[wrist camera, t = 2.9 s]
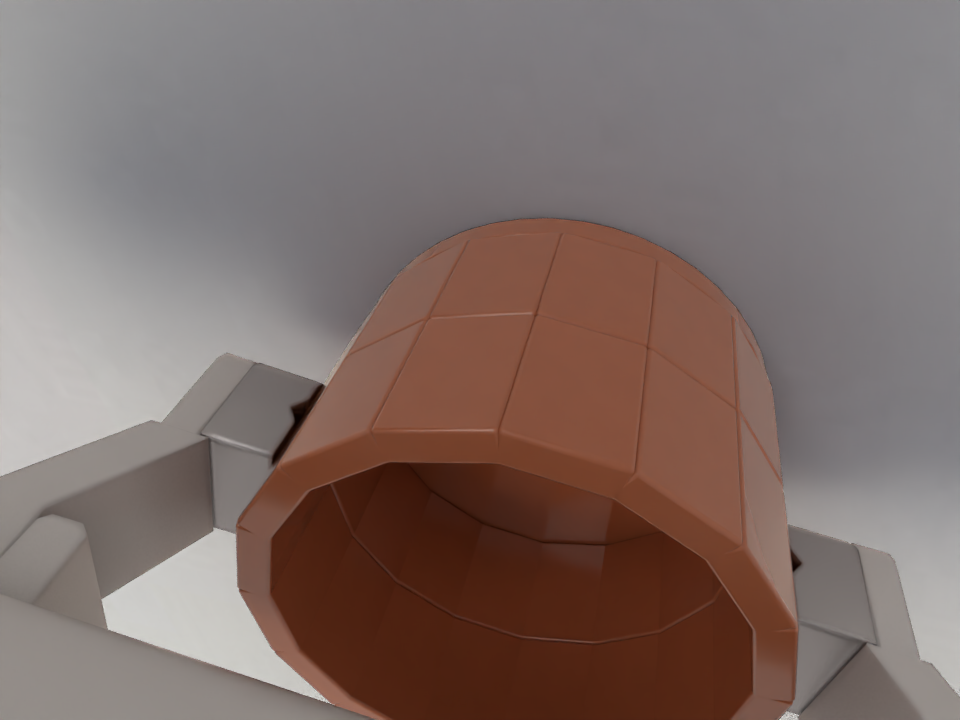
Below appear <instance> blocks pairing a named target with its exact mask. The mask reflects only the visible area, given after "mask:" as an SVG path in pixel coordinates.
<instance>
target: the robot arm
mask: <svg viewBox="0 0 960 720" xmlns="http://www.w3.org/2000/svg"><path fill="white" fill-rule="evenodd" d="M322 386H323V384H322V383H319V382H316V381H313V380H310V379H307V378H304V377H301V376H298V375H295V374H292V373H289V372H286V371H283V370H280V369H277V368H274V367H271V366H268V365H265V364H262V363H256V362H253V361H250V360H247V359H244V358H241V357H238V356H235V355H232V354H230V353H225V354H223V355H221V356H219V357H218V358H216V360H215V361H214V362H213V363H212V364H211V365H210V367H209V368H208V369H207V370H206V371H205V372H204V374H203V375H202V376H201V377H200V378H199V379H198V381H197V382H196V383H195V384H194V385H193V386H192V388H191V389H190V390H189V391H188V392H187V393H186V395H185V396H184V397H183V398H182V399H181V400H180V402H179V403H178V404H177V405H176V406H175V407H174V408H173V410H172V411H171V412H170V413H169V414H168V415H167V417H166V418H165V419H164V420H163V421H162V422H161V423H160V422H156V421H153V420H150V421H148V422H145V423H142V424H139V425H137V426H134V427H131V428H129V429H126V430H123V431H121V432H118V433H115V434H113V435H110V436H107V437H105V438H102V439H99V440H97V441H94V442H91V443H89V444H86V445H83V446H81V447H78V448H75V449H73V450H70V451H67V452H65V453H62V454H59V455H57V456H54V457H51V458H49V459H46V460H43V461H41V462H38V463H35V464H33V465H30V466H27V467H25V468H22V469H19V470H17V471H14V472H11V473H9V474H6V475H3V476H0V720H377V719H374V718H371V717H368V716H365V715H362V714H359V713H356V712H353V711H350V710H347V709H344V708H341V707H338V706H335V705H332V704H329V703H326V702H323V701H320V700H317V699H314V698H311V697H308V696H305V695H302V694H299V693H296V692H293V691H290V690H287V689H284V688H281V687H278V686H275V685H272V684H269V683H266V682H263V681H260V680H257V679H254V678H251V677H248V676H245V675H242V674H239V673H236V672H233V671H230V670H227V669H224V668H221V667H218V666H215V665H212V664H209V663H206V662H203V661H200V660H197V659H194V658H191V657H188V656H185V655H182V654H179V653H176V652H173V651H170V650H167V649H164V648H161V647H158V646H155V645H152V644H149V643H146V642H143V641H140V640H137V639H134V638H131V637H128V636H125V635H122V634H119V633H116V632H113V631H110V630H108V628H107V623H106V619H105V614H104V610H103V605H102V600H101V599H103V598H104V597H106V596H108V595H109V594H111V593H112V592H114V591H116V590H117V589H119V588H121V587H122V586H124V585H126V584H127V583H129V582H130V581H132V580H134V579H135V578H137V577H139V576H140V575H142V574H144V573H145V572H147V571H148V570H150V569H152V568H153V567H155V566H157V565H158V564H160V563H161V562H163V561H165V560H166V559H168V558H170V557H171V556H173V555H175V554H176V553H178V552H179V551H181V550H183V549H184V548H186V547H188V546H189V545H191V544H193V543H194V542H196V541H197V540H199V539H201V538H202V537H204V536H206V535H207V534H209V533H211V532H212V531H213V527H214V528H218V529H221V530H225V531H228V532H231V533H235V534H236V523H237V520H238V517H239V516H240V514H241V513H242V511H243V510H244V508H245V506H246V505H247V503H248V502H249V500H250V499H251V497H252V495H253V494H254V492H255V491H256V489H257V488H258V486H259V484H260V483H261V481H262V480H263V478H264V477H265V475H266V473H267V472H268V470H269V469H270V467H271V466H272V464H273V462H274V461H275V459H276V458H277V456H278V455H279V453H280V451H281V450H282V448H283V447H284V445H285V444H286V442H287V441H288V439H289V437H290V436H291V434H292V433H293V431H294V429H295V428H296V426H297V425H298V423H299V422H300V420H301V418H302V417H303V415H304V414H305V412H306V411H307V410H308V408H309V406H310V404H311V403H312V401H313V400H314V398H315V397H316V395H317V393H318V392H319V390H320V389H321V387H322ZM787 525H788V524H787ZM788 534H789V543H790V552H791V561H792V570H793V579H794V588H795V597H796V606H797V615H798V624H799V640H798V661H797V681H796V697H795V700H794V701H793V704H792V706H791V707H790V708H789V709H788V710H787V711H789V712H792V713H795V714H798V715H800V716H799V717H798V719H799V720H960V697H959V696H958V695H957V693H956V692H955V691H954V690H953V689H952V687H951V686H950V685H949V684H948V683H947V681H946V680H945V679H944V678H943V677H942V675H941V674H940V673H939V672H938V671H937V669H936V668H935V667H934V666H933V665H932V664H931V663H928V662H925V661H922V660H920V656H919V652H918V648H917V644H916V640H915V637H914V633H913V629H912V625H911V621H910V617H909V613H908V609H907V605H906V601H905V597H904V593H903V590H902V586H901V582H900V578H899V574H898V570H897V566H896V562H895V560H894V559H893V558H892V556H891V555H890V554H888V553H885V552H881V551H878V550H875V549H871V548H868V547H864V546H861V545H857V544H854V543H851V544H850V543H848V542H846V541H843V540H839V539H836V538H833V537H829V536H826V535H822V534H819V533H816V532H812V531H809V530H805V529H802V528H799V527H795V526H792V525H788Z"/></svg>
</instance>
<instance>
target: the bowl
mask: <svg viewBox="0 0 960 720" xmlns="http://www.w3.org/2000/svg"><path fill="white" fill-rule="evenodd" d="M236 554H237V587H238V588H239V593H240V594H241V596H242V598H243V600H244V601H245V603H246V605H247V607H248V608H249V610H250V612H251V614H252V615H253V617H254V619H255V621H256V622H257V624H258V626H259V628H260V629H261V631H262V633H263V635H264V636H265V638H266V640H267V641H268V643H269V645H270V647H271V648H272V649H273V650H274V651H275V653H276V654H277V655H278V656H279V657H280V658H281V659H282V660H283V661H284V662H286V663H287V664H288V665H289V666H290V667H291V668H292V669H293V670H294V671H295V672H297V673H298V674H299V675H300V676H301V677H302V678H303V679H304V680H305V681H307V682H308V683H309V684H310V685H311V686H312V687H313V688H314V689H315V690H317V691H318V692H319V693H320V694H321V695H322V696H323V697H324V698H325V699H327V700H328V701H329V702H330V703H331V704H334V705H335V706H338V707H341V708H344V709H347V710H350V711H353V712H356V713H359V714H362V715H365V716H368V717H371V718H374V719H377V720H779V719H780V718H781V717H782V716H783V715H784V713H785V712H786V711H787V710H788V709H789V708H790V707H791V706H792V704H793V701H794V700H795V697H796V681H797V661H798V640H799V624H798V615H797V606H796V597H795V588H794V579H793V570H792V561H791V552H790V543H789V534H788V525H787V516H786V507H785V498H784V492H783V480H782V471H781V462H780V453H779V444H778V435H777V426H776V417H775V408H774V399H773V390H772V388H771V383H770V381H769V379H768V376H767V372H766V368H765V364H764V360H763V356H762V353H761V351H760V349H759V347H758V344H757V342H756V340H755V337H754V335H753V333H752V331H751V329H750V328H749V326H748V325H747V323H746V322H745V320H744V319H743V317H742V316H741V314H740V312H739V311H738V309H737V308H736V307H735V306H734V305H733V304H732V302H731V301H730V300H729V299H728V298H727V297H726V296H725V294H724V293H723V292H722V291H721V290H720V289H719V288H718V287H717V286H716V285H715V284H714V283H712V282H711V281H710V280H709V279H708V278H707V277H705V276H704V275H703V274H702V273H701V272H700V271H698V270H697V269H696V268H695V267H693V266H692V265H690V264H688V263H687V262H685V261H684V260H682V259H681V258H679V257H678V256H676V255H675V254H673V253H672V252H670V251H668V250H666V249H664V248H662V247H660V246H658V245H656V244H654V243H652V242H650V241H648V240H645V239H643V238H641V237H638V236H635V235H632V234H629V233H626V232H624V231H621V230H618V229H615V228H611V227H607V226H602V225H598V224H593V223H589V222H584V221H576V220H565V219H555V218H539V219H518V220H511V221H504V222H498V223H491V224H488V225H484V226H481V227H477V228H474V229H470V230H467V231H464V232H462V233H459V234H457V235H455V236H453V237H450V238H448V239H446V240H443V241H441V242H439V243H438V244H436V245H434V246H433V247H431V248H430V249H428V250H427V251H425V252H423V253H422V254H420V255H419V256H417V257H416V258H415V259H414V260H413V261H412V262H410V263H409V264H408V265H407V266H406V267H405V268H404V269H402V270H401V271H400V272H399V274H398V275H397V276H396V277H395V278H394V280H393V281H392V282H391V283H390V284H389V286H388V287H387V288H386V289H385V291H384V293H383V294H382V296H381V297H380V299H379V300H378V302H377V304H376V305H375V307H374V308H373V309H372V311H371V312H370V314H369V315H368V316H367V318H366V319H365V321H364V322H363V323H362V325H361V326H360V328H359V329H358V331H357V332H356V334H355V335H354V337H353V338H352V340H351V342H350V343H349V345H348V346H347V348H346V349H345V351H344V353H343V354H342V356H341V357H340V359H339V360H338V362H337V364H336V365H335V367H334V368H333V370H332V371H331V373H330V375H329V376H328V378H327V379H326V381H325V382H324V384H323V386H322V387H321V389H320V390H319V392H318V393H317V395H316V397H315V398H314V400H313V401H312V403H311V404H310V406H309V408H308V410H307V411H306V412H305V414H304V415H303V417H302V418H301V420H300V422H299V423H298V425H297V426H296V428H295V429H294V431H293V433H292V434H291V436H290V437H289V439H288V441H287V442H286V444H285V445H284V447H283V448H282V450H281V451H280V453H279V455H278V456H277V458H276V459H275V461H274V462H273V464H272V466H271V467H270V469H269V470H268V472H267V473H266V475H265V477H264V478H263V480H262V481H261V483H260V484H259V486H258V488H257V489H256V491H255V492H254V494H253V495H252V497H251V499H250V500H249V502H248V503H247V505H246V506H245V508H244V510H243V511H242V513H241V514H240V516H239V517H238V520H237V523H236Z"/></svg>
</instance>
